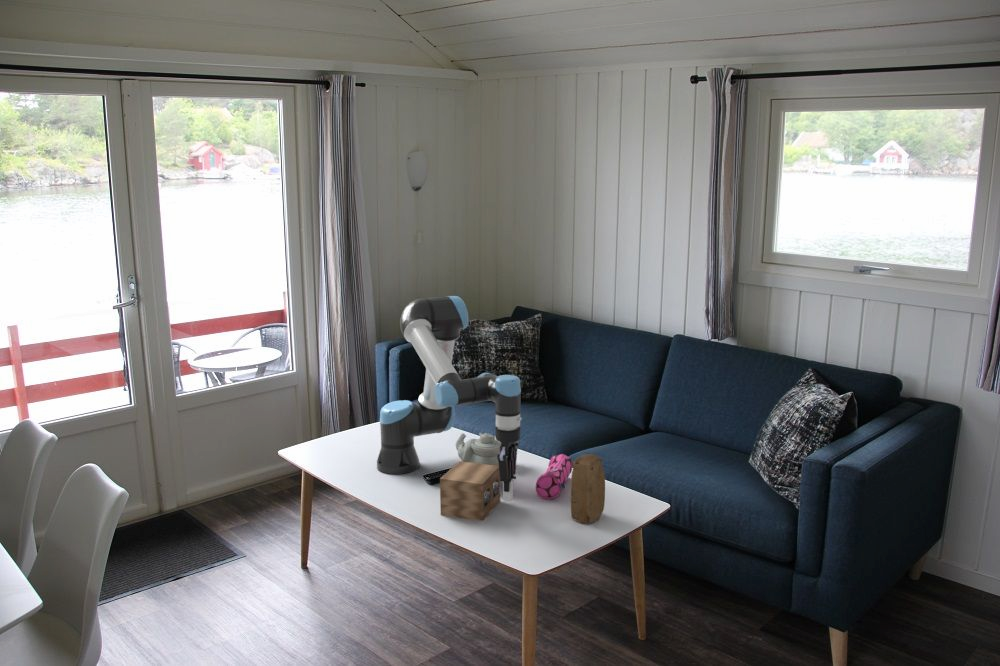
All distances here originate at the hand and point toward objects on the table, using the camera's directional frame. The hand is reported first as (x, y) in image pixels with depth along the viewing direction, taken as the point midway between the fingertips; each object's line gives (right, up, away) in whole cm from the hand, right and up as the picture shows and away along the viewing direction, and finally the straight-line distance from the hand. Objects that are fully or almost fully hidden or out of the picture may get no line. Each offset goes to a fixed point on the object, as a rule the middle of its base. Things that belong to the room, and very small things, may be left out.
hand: (508, 499), depth 264 cm
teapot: (-10, 0, +30) cm, 32 cm away
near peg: (-13, -1, +5) cm, 14 cm away
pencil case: (+16, -1, +25) cm, 30 cm away
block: (+25, -6, +1) cm, 25 cm away
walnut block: (-12, -4, +9) cm, 16 cm away
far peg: (-10, 0, +12) cm, 16 cm away
